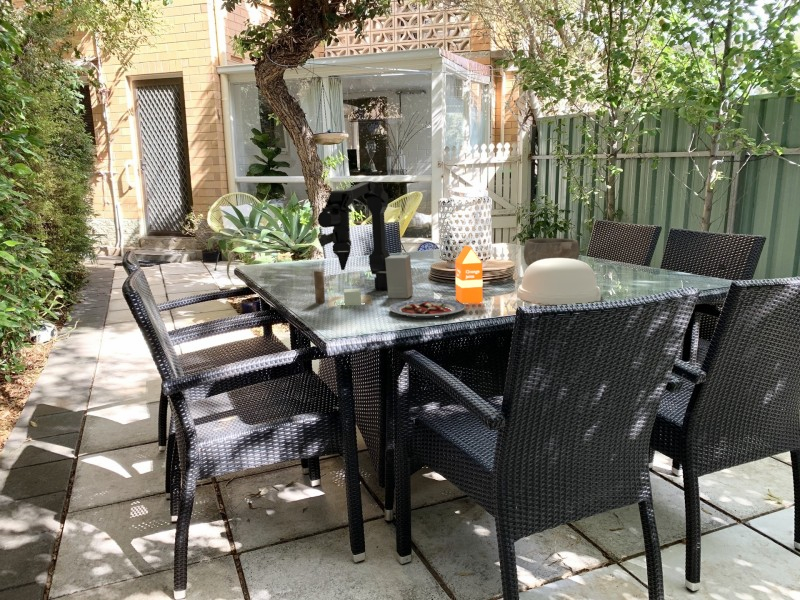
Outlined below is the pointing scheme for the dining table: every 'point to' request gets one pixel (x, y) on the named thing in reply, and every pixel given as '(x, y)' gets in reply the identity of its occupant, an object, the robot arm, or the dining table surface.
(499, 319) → the dining table surface
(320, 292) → the peg
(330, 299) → the board
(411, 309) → the ceramic plate
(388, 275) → the skincare box
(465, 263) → the orange juice
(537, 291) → the dome cover
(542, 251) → the bowl
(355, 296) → the grey green block
